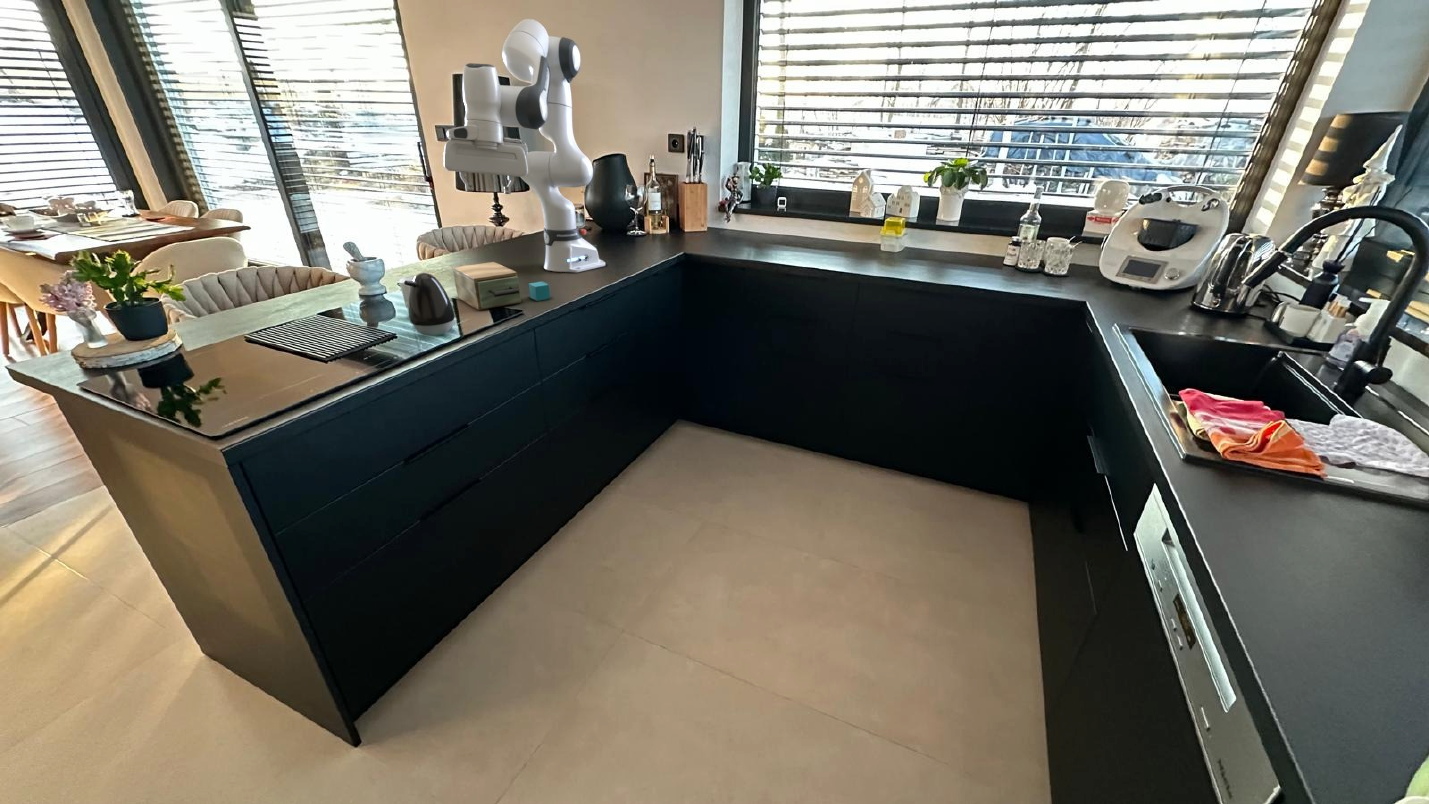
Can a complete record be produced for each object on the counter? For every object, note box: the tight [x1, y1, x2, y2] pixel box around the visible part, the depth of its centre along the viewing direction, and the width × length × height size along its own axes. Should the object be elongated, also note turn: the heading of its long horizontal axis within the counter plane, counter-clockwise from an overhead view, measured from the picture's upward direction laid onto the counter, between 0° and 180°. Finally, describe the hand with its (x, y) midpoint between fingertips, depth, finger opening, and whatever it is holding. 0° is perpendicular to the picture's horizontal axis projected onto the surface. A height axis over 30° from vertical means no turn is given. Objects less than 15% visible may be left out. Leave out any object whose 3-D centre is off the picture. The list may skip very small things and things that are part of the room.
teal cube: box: [528, 281, 551, 302], centre depth 169 cm, size 4×4×4 cm
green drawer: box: [477, 275, 522, 308], centre depth 162 cm, size 19×11×7 cm, turn 43°
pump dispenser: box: [404, 272, 456, 337], centre depth 137 cm, size 10×10×15 cm
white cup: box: [398, 275, 416, 314], centre depth 149 cm, size 8×8×10 cm
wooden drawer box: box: [452, 261, 522, 311], centre depth 165 cm, size 16×13×9 cm
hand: (488, 192), depth 146 cm, fingers open, 8 cm apart
